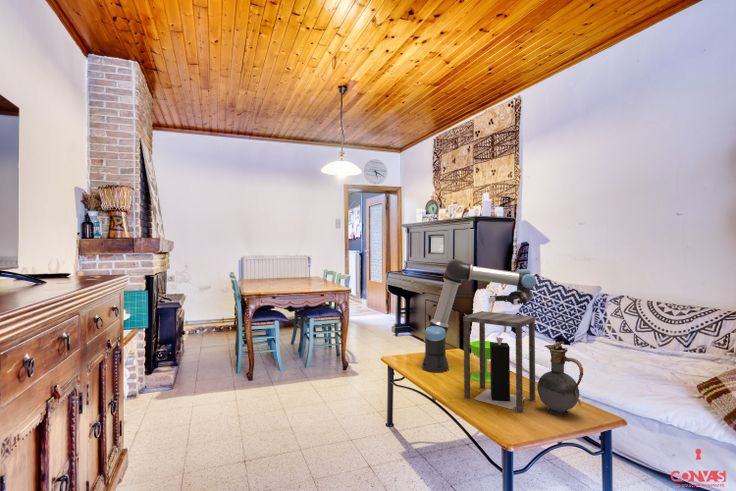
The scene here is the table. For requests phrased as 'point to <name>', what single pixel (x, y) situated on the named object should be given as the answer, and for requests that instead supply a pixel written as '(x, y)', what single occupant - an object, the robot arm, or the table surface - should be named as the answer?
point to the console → (516, 322)
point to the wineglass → (476, 350)
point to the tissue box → (500, 370)
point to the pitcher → (559, 383)
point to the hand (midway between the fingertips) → (501, 301)
